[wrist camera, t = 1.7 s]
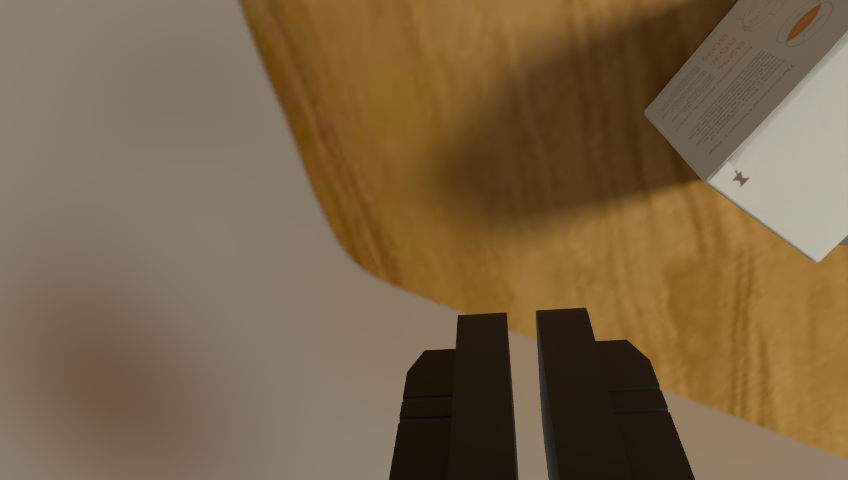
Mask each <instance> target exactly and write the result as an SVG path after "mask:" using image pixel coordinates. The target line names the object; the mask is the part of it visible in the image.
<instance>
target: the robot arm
mask: <svg viewBox="0 0 848 480" xmlns="http://www.w3.org/2000/svg"><path fill="white" fill-rule="evenodd" d="M536 327H537V345H538V361H539V362H538V363H539V381H540V398H541V413H542V425H543V435H544V444H545V453H546V461H547V469H548V478H549V480H695V478H694V475H693V473H692V470H691V467H690V465H689V462H688V459H687V457H686V454H685V451H684V449H683V447H682V444H681V441H680V439H679V436H678V433H677V431H676V428H675V425H674V423H673V420H672V417H671V415H670V413H669V412H668V408H667V404H666V401H665V399H664V396H663V394H662V391H660V388H659V383H658V380H657V378H656V375H655V373H654V370H653V367H652V365H651V362H650V360H649V359H648V358H647V357H646V356H644V355H643V354H642V353H641V352H640V351H639V350H638V349H637V348H635V347H634V346H633V345H632V344H631V343H630V342H629V341H628V340H612V341H595V338H594V334H593V330H592V327H591V323H590V319H589V315H588V312H587V309H586V308H572V309H555V310H538V311H536ZM456 338H457V339H456V349H444V350H425V351H424V352H423V353H422V355H421V356H420V357H419V358H418V359H417V361H416V362H415V363H414V364H413V366H412V367H411V368H410V370H409V371H408V372H407V376H406V382H405V388H404V394H403V402H402V406H401V412H400V423H399V424H398V430H397V436H396V442H395V447H394V454H393V459H392V466H391V471H390V477H389V480H518V464H517V449H516V433H515V420H514V407H513V406H514V405H513V392H512V379H511V365H510V352H509V338H508V325H507V313H489V314H472V315H458V323H457V337H456Z"/></svg>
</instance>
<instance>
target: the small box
mask: <svg viewBox="0 0 848 480" xmlns="http://www.w3.org/2000/svg"><path fill="white" fill-rule="evenodd" d="M644 115H645V117H646V118H647V119H648V120H649V121H650V122H651V123H652V124H653V125H654V126H655V127H656V128H657V129H658V131H659V132H660V133H661V134H662V135H663V136H664V137H665V138H666V139H667V140H668V142H669V143H670V144H671V145H672V146H673V147H674V149H675V150H676V151H677V152H678V153H679V154H680V155H681V157H682V158H683V159H684V160H685V161H686V163H687V164H688V165H689V166H690V167H691V168H692V169H693V170H694V171H695V172H696V174H697V175H698V176H699V177H700V178H701V179H702V180H703V181H704V182H705V183H706V184H708V185H709V186H710V187H712V188H713V189H715V190H716V191H717V192H719V193H720V194H721V195H723V196H724V197H725V198H727V199H728V200H729V201H731V202H732V203H733V204H735V205H736V206H738V207H739V208H740V209H742V210H743V211H744V212H746V213H747V214H748V215H750V216H751V217H753V218H754V219H755V220H757V221H758V222H759V223H761V224H762V225H763V226H765V227H766V228H768V229H769V230H770V231H772V232H773V233H775V234H776V235H777V236H779V237H780V238H781V239H783V240H784V241H786V242H787V243H788V244H790V245H791V246H793V247H794V248H795V249H797V250H798V251H799V252H801V253H802V254H803V255H805V256H806V257H807V258H809V259H810V260H812V261H813V262H816V263H819V262H820V261H821V260H822V259H823V258H824V257H825V256H826V255H828V254H829V253H830V252H831V251H832V250H833V249H834V248H835V247H836V246H837V245H838V244H839V243H840V242H842V241H843V240H844V239H845V238H846V237H847V236H848V0H738V1H737V3H736V4H735V5H734V6H733V8H732V9H731V10H730V11H729V12H728V13H727V14H726V16H725V17H724V18H723V19H722V20H721V22H720V23H719V24H718V25H717V26H716V27H715V29H714V30H713V31H712V32H711V33H710V34H709V36H708V37H707V38H706V39H705V40H704V42H703V43H702V44H701V45H700V46H699V47H698V49H697V50H696V51H695V52H694V53H693V54H692V56H691V57H690V58H689V59H688V60H687V61H686V63H685V64H684V65H683V66H682V67H681V69H680V70H679V71H678V72H677V73H676V75H675V76H674V77H673V78H672V79H671V81H670V82H669V83H668V84H667V85H666V86H665V88H664V89H663V90H662V91H661V92H660V93H659V95H658V96H657V97H656V98H655V99H654V100H653V102H652V103H651V104H650V105H649V106H648V107H647V108H646V109H645V111H644Z"/></svg>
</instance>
